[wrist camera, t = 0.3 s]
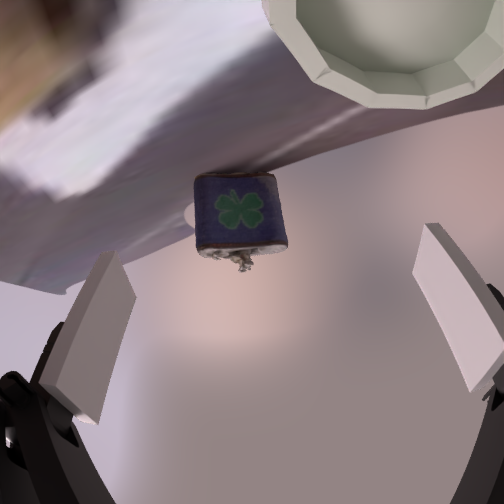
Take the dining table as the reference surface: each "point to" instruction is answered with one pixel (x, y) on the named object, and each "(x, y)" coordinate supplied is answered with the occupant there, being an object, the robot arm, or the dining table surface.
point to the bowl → (394, 47)
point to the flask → (238, 216)
